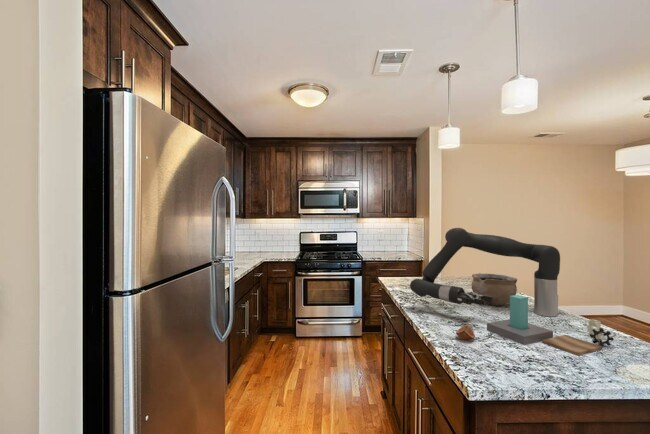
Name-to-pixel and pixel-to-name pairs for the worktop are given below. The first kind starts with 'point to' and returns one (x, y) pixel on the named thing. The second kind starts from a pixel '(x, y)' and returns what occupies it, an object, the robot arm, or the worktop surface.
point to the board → (572, 345)
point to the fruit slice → (466, 333)
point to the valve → (598, 333)
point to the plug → (519, 312)
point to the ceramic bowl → (494, 287)
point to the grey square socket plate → (519, 332)
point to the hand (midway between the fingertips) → (488, 301)
